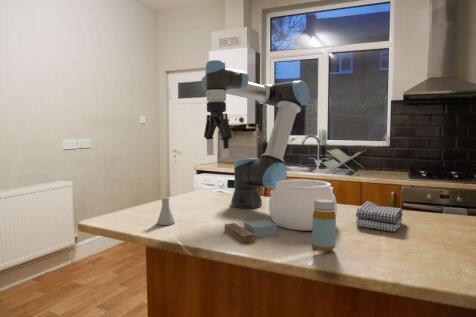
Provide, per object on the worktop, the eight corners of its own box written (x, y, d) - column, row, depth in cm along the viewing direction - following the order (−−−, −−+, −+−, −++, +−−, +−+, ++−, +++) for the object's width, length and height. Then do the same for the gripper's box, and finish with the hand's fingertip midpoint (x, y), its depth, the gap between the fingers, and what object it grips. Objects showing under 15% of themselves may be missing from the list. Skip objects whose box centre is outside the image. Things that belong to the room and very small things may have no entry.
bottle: (309, 244, 108) (310, 198, 107) (330, 243, 109) (331, 198, 108) (316, 251, 101) (317, 202, 100) (338, 250, 102) (339, 202, 101)
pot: (293, 237, 115) (293, 190, 114) (254, 220, 138) (254, 181, 137) (353, 227, 128) (354, 184, 127) (308, 212, 151) (309, 177, 150)
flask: (170, 226, 129) (170, 200, 129) (153, 225, 131) (152, 200, 130) (177, 221, 136) (177, 197, 136) (161, 220, 138) (160, 196, 137)
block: (234, 229, 125) (234, 223, 124) (254, 242, 110) (254, 234, 110) (224, 230, 123) (224, 224, 123) (244, 243, 108) (244, 236, 108)
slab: (244, 232, 122) (266, 229, 126) (254, 238, 115) (276, 235, 118) (244, 221, 122) (266, 219, 125) (254, 227, 114) (277, 224, 118)
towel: (354, 227, 128) (354, 207, 127) (364, 217, 144) (364, 199, 143) (398, 234, 120) (398, 212, 120) (403, 222, 136) (403, 203, 135)
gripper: (195, 104, 139) (196, 154, 141) (221, 98, 117) (223, 158, 119) (211, 104, 142) (212, 153, 144) (240, 99, 121) (241, 157, 122)
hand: (217, 156), depth 131 cm, fingers open, 13 cm apart
